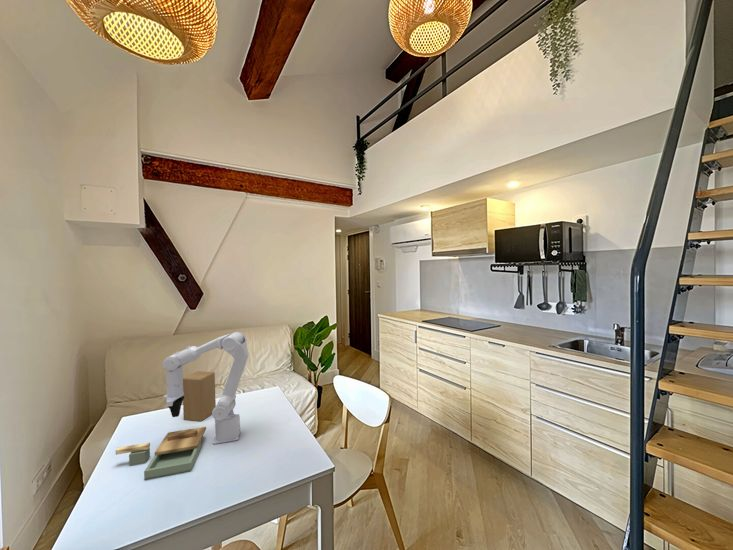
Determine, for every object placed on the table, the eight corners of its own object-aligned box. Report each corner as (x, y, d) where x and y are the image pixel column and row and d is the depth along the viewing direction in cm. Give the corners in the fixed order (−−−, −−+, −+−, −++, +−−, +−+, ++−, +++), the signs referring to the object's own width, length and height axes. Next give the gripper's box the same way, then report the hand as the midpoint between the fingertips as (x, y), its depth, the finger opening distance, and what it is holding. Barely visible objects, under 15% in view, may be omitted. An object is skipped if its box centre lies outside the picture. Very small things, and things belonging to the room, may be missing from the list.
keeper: (150, 456, 113) (149, 446, 113) (145, 462, 109) (145, 452, 109) (134, 459, 111) (134, 448, 111) (129, 465, 107) (129, 455, 107)
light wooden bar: (150, 446, 112) (150, 442, 112) (147, 449, 110) (147, 445, 110) (118, 451, 109) (118, 447, 109) (115, 454, 107) (115, 450, 107)
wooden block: (199, 410, 150) (197, 370, 150) (216, 411, 148) (215, 371, 148) (183, 420, 140) (181, 378, 140) (201, 421, 138) (200, 379, 138)
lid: (205, 428, 126) (205, 423, 126) (197, 447, 112) (197, 441, 112) (168, 434, 122) (167, 428, 122) (154, 455, 108) (154, 448, 108)
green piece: (201, 448, 117) (200, 440, 117) (191, 471, 104) (190, 462, 104) (160, 455, 113) (159, 447, 113) (144, 480, 100) (144, 471, 100)
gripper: (169, 378, 128) (170, 409, 128) (156, 391, 114) (157, 426, 114) (188, 376, 130) (189, 407, 130) (177, 389, 116) (178, 423, 116)
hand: (175, 416), depth 123 cm, fingers closed
